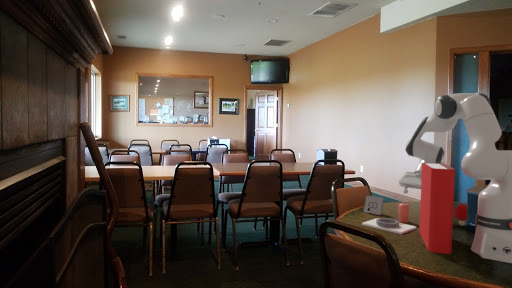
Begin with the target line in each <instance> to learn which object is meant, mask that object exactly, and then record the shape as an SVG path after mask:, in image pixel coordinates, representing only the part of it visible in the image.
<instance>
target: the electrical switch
mask: <svg viewBox="0 0 512 288" xmlns="http://www.w3.org/2000/svg"><path fill="white" fill-rule="evenodd" d="M383 206H384V198H383V197H379V196H373V195H366V197H365V202H364V209H363V212H364V213H365V214H370V213H371V215H376V216H381V215H382V214H383Z"/></svg>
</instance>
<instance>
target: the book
mask: <svg viewBox="0 0 512 288" xmlns="http://www.w3.org/2000/svg"><path fill="white" fill-rule="evenodd" d="M455 170H456V169H455V168H454V167H452V166H450V165H448V164H446V163H444V162H443V161H441V163H439V164H429V163H424V162H422V176H421V189H420V206H419V207H420V209H419V235H420V236H421V239H422V241H423V244H424V245H425V247H426V249H427V251H428V252H430V253H436V254H445V255H449V254H452V245H453V238H452V237H453V220H454V199H455V198H454V197H455V196H454V195H455V176H456V175H455V174H456V173H455Z"/></svg>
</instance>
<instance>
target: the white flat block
mask: <svg viewBox="0 0 512 288" xmlns="http://www.w3.org/2000/svg"><path fill="white" fill-rule="evenodd" d="M361 226H364V227H370V228H374V229H378V230H382V231H386V232H389V233H393V234H394V233H395V234H399V235H404V234H406V233H408V232H412V231H414V230H416V229H417V226H415V225H412V224H411V225H410V224H408V223H402V222H399V221H398V219H394V218H386V217H385V218H384V217H383V218H382V217H379V218H378V217H377V218H373V219H370V220H367V221H364V222H361Z"/></svg>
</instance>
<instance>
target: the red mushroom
mask: <svg viewBox="0 0 512 288" xmlns="http://www.w3.org/2000/svg"><path fill="white" fill-rule="evenodd" d="M453 217H454V218H455V219H456V220H458V225H459V226H461V227H463V226H465V225H466V221H468V220H467V204H463V203H461V204H458V205H456V207H455V209H454V210H453Z"/></svg>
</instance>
